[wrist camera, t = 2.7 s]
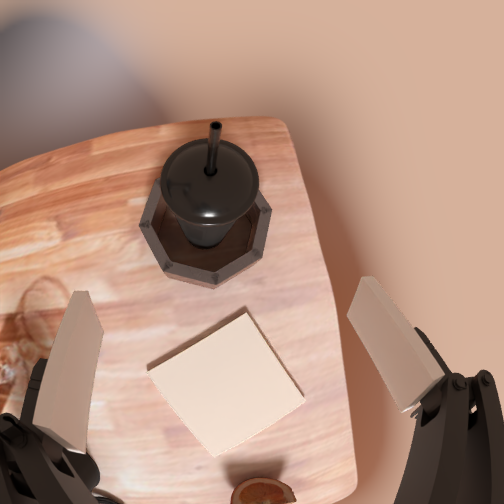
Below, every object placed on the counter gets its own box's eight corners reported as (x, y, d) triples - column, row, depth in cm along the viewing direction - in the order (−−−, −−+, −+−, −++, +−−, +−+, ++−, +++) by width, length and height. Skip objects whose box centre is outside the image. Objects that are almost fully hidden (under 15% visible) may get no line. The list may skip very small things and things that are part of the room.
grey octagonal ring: (134, 212, 32) (124, 196, 27) (224, 165, 35) (228, 145, 30) (185, 306, 30) (182, 305, 26) (278, 249, 34) (291, 239, 29)
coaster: (147, 371, 28) (146, 372, 27) (245, 312, 32) (246, 312, 31) (213, 455, 27) (213, 457, 26) (304, 399, 30) (306, 401, 30)
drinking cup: (245, 247, 33) (305, 163, 14) (186, 270, 31) (168, 206, 12) (222, 194, 34) (251, 74, 15) (166, 213, 32) (136, 100, 13)
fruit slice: (287, 469, 28) (299, 486, 23) (284, 499, 26) (294, 517, 21) (226, 474, 26) (231, 494, 21) (227, 505, 25) (232, 525, 20)
